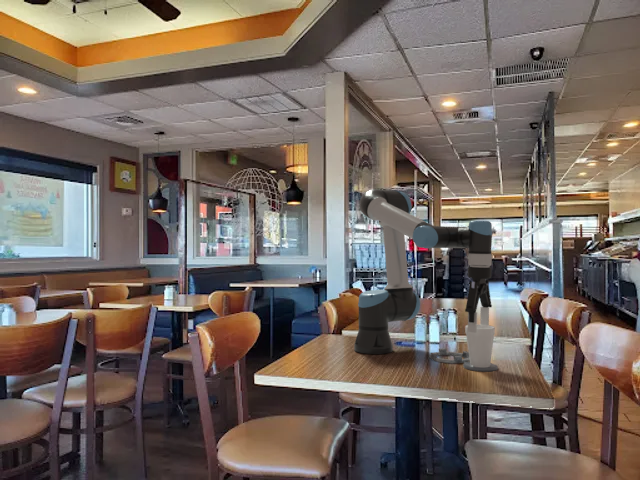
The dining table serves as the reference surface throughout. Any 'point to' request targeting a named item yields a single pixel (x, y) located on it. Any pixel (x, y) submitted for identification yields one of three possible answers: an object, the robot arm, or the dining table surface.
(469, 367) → the coaster
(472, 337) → the foam cup
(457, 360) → the collar
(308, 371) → the dining table surface
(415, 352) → the dining table surface
